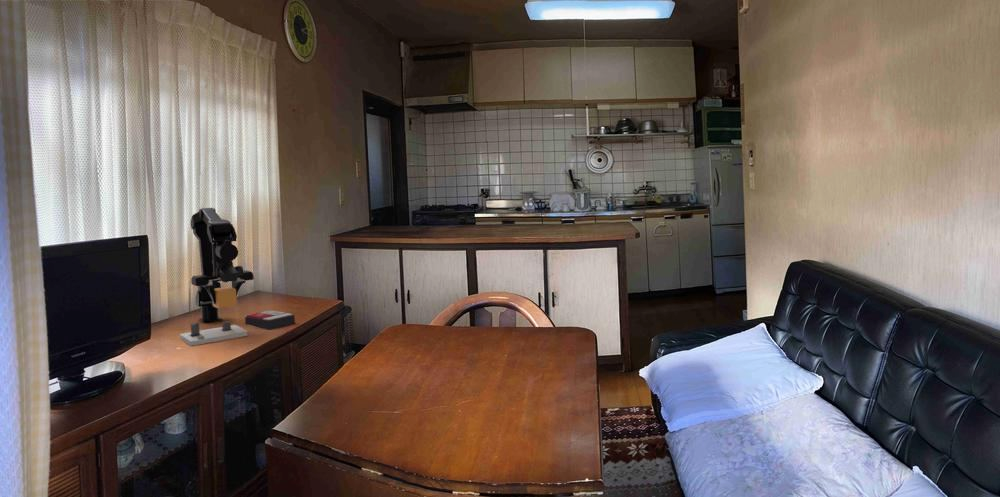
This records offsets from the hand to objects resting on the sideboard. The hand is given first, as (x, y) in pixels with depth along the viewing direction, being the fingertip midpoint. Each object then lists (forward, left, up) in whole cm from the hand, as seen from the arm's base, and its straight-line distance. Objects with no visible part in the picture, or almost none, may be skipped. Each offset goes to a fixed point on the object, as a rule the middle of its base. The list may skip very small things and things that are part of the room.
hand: (224, 302), depth 199 cm
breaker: (0, -10, -10) cm, 14 cm away
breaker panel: (+1, -4, -11) cm, 12 cm away
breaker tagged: (0, 0, -11) cm, 11 cm away
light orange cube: (0, 0, -1) cm, 1 cm away
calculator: (-4, +17, -12) cm, 21 cm away
